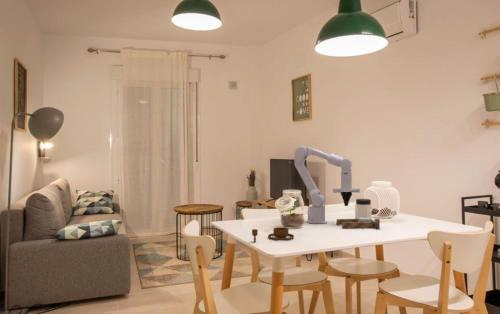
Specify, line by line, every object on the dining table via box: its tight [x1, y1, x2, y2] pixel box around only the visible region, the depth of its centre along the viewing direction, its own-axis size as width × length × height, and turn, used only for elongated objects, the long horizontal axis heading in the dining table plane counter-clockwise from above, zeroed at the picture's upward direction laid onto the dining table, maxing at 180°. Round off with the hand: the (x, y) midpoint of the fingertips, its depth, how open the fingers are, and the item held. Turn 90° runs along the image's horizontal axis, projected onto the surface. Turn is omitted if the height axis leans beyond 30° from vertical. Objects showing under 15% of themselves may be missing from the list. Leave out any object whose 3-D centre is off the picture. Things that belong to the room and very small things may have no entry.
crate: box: [358, 217, 373, 222], centre depth 219 cm, size 6×6×4 cm
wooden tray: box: [336, 218, 381, 230], centre depth 218 cm, size 19×14×5 cm
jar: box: [354, 198, 372, 219], centre depth 238 cm, size 9×8×12 cm
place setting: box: [251, 226, 295, 243], centre depth 191 cm, size 18×20×6 cm
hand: (346, 205), depth 227 cm, fingers closed
